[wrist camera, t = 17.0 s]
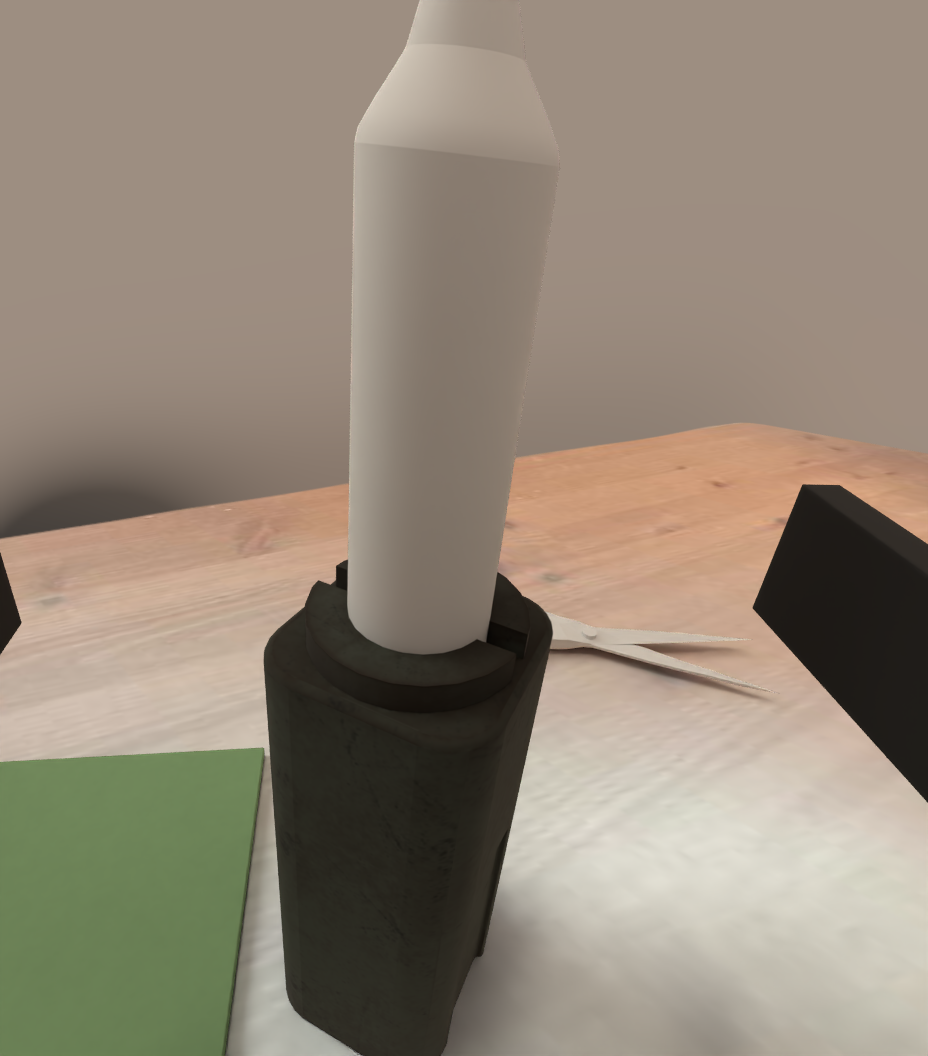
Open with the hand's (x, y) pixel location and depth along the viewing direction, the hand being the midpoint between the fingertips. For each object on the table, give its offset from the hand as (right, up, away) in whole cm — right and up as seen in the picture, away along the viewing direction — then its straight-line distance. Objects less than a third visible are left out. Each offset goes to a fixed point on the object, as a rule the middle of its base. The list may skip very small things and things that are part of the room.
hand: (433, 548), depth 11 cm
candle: (-2, -13, +9) cm, 16 cm away
